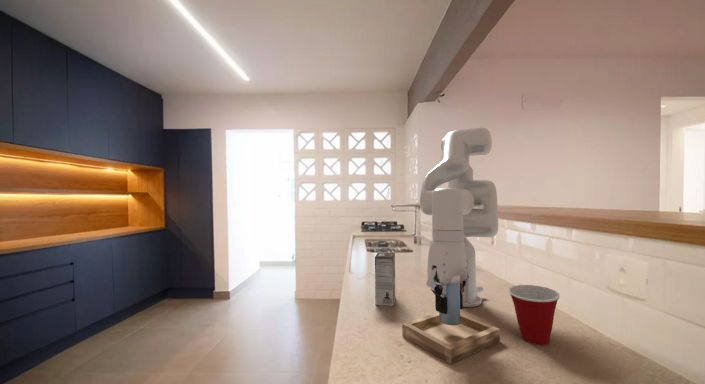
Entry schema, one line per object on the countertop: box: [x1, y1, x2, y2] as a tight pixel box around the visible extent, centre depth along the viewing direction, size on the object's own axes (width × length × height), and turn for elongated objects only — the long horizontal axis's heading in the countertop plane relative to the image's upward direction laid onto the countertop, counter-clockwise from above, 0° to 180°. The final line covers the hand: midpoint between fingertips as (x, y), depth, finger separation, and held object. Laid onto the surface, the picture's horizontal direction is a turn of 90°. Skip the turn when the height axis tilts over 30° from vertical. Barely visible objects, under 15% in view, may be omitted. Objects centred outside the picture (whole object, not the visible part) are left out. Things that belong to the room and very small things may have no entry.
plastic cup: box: [507, 284, 560, 346], centre depth 69 cm, size 11×11×12 cm
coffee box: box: [374, 251, 396, 307], centre depth 96 cm, size 9×6×16 cm
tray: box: [401, 311, 501, 365], centre depth 69 cm, size 18×15×3 cm
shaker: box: [439, 275, 461, 325], centre depth 70 cm, size 5×5×12 cm
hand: (449, 309), depth 69 cm, fingers closed on shaker, 5 cm apart
